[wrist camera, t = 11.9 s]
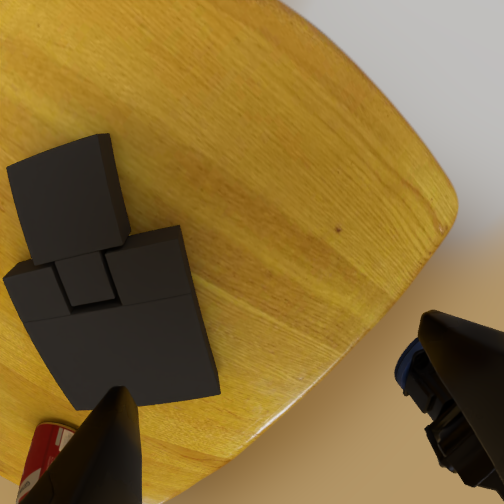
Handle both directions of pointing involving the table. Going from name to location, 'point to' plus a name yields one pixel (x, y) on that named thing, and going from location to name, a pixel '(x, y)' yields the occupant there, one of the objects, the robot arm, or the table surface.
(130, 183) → the table surface
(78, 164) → the dark grey tabbed block
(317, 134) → the table surface
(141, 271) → the large pad
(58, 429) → the soda can
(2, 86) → the table surface
